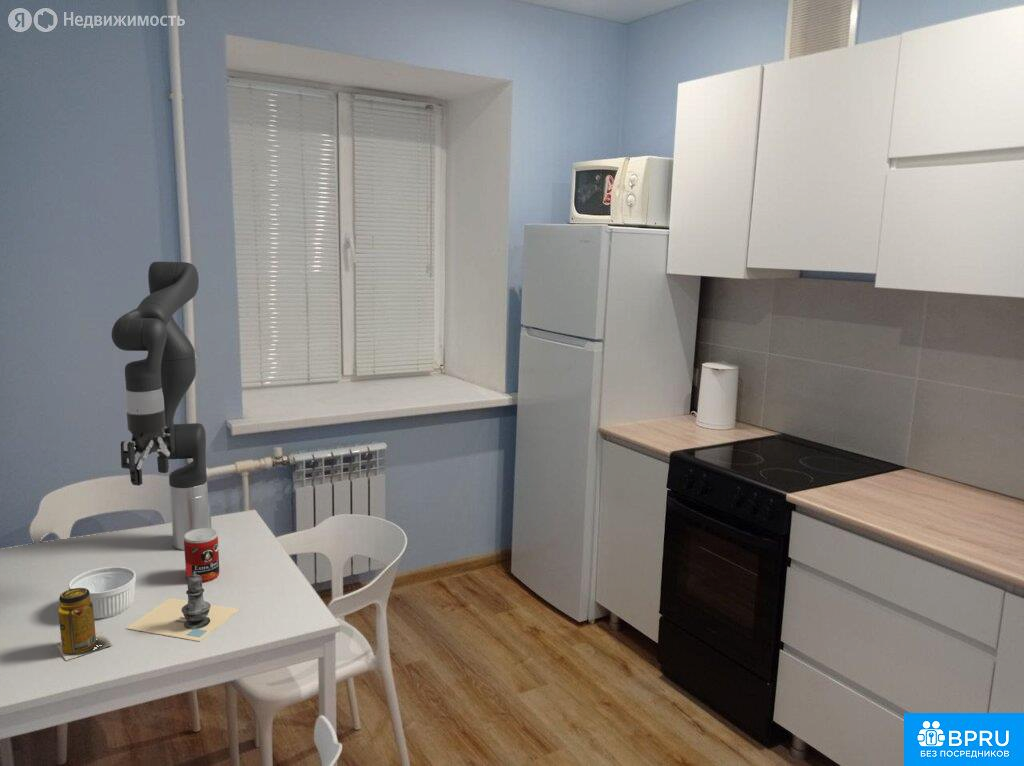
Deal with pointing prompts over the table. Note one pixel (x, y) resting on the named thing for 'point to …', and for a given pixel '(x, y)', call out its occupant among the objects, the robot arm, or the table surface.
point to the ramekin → (108, 589)
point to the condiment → (78, 624)
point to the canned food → (202, 553)
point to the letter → (179, 620)
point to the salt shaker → (195, 604)
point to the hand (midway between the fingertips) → (150, 478)
